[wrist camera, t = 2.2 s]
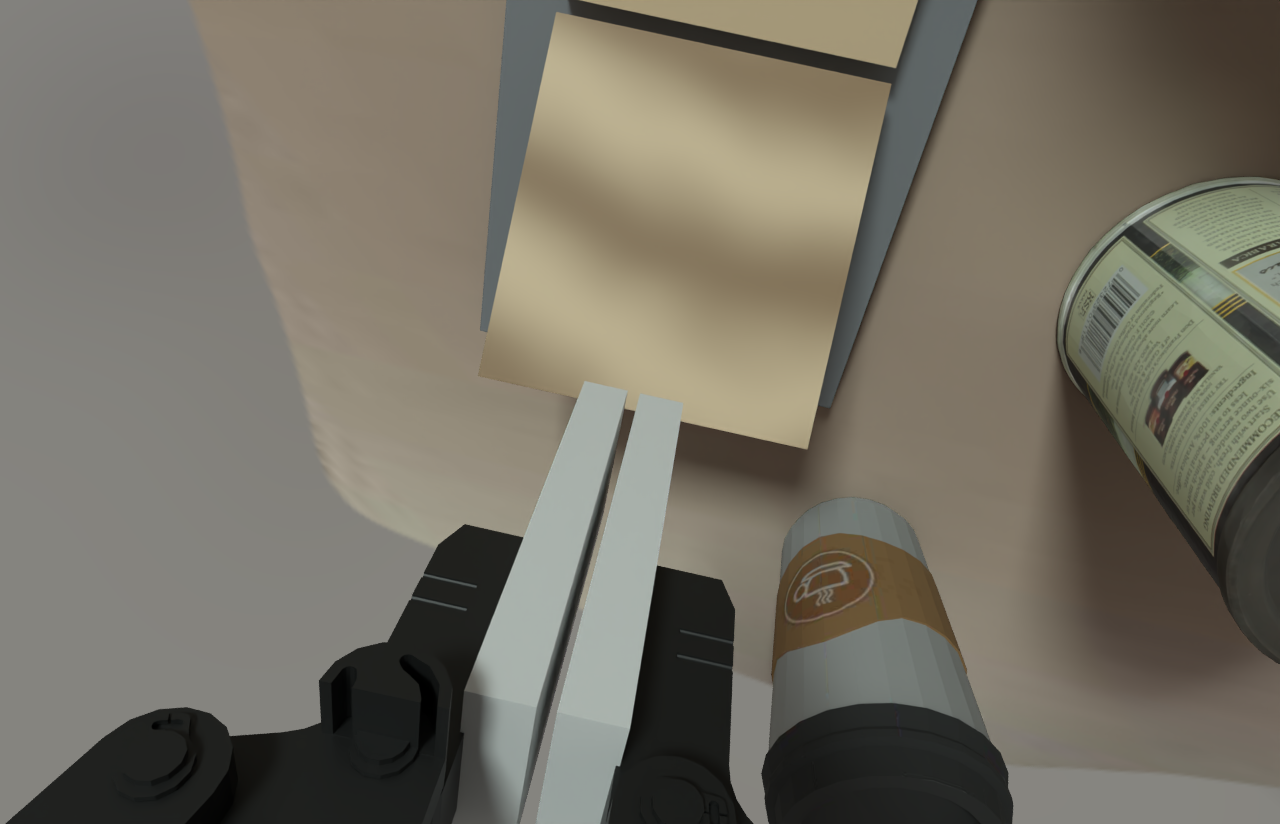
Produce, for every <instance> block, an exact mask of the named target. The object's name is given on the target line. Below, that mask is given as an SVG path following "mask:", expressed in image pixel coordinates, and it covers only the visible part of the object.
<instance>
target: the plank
mask: <svg viewBox="0 0 1280 824" xmlns="http://www.w3.org/2000/svg"><path fill="white" fill-rule="evenodd" d="M890 88H891V84H890V83H885V82H880V81H876V80H871V79H867V78H862V77H857V76H853V75H848V74H843V73H839V72H834V71H829V70H825V69H820V68H815V67H811V66H806V65H801V64H797V63H792V62H787V61H783V60H778V59H773V58H769V57H764V56H760V55H755V54H750V53H746V52H741V51H736V50H732V49H727V48H722V47H718V46H713V45H708V44H704V43H699V42H694V41H690V40H685V39H680V38H676V37H671V36H666V35H662V34H657V33H652V32H648V31H643V30H639V29H634V28H629V27H625V26H620V25H615V24H611V23H606V22H601V21H597V20H592V19H587V18H583V17H578V16H573V15H569V14H564V13H559V12H556V16H555V20H554V25H553V30H552V34H551V39H550V43H549V48H548V53H547V57H546V62H545V67H544V71H543V76H542V81H541V85H540V90H539V95H538V99H537V104H536V109H535V113H534V118H533V122H532V127H531V132H530V136H529V141H528V146H527V150H526V155H525V160H524V164H523V169H522V174H521V178H520V183H519V188H518V192H517V197H516V201H515V206H514V211H513V215H512V220H511V225H510V229H509V234H508V239H507V243H506V248H505V253H504V257H503V262H502V267H501V271H500V276H499V280H498V285H497V290H496V294H495V299H494V304H493V308H492V313H491V318H490V322H489V327H488V332H487V336H486V341H485V346H484V350H483V355H482V359H481V364H480V369H479V373H478V376H480V377H485V378H489V379H494V380H498V381H503V382H507V383H512V384H516V385H521V386H525V387H529V388H534V389H538V390H543V391H547V392H552V393H556V394H561V395H565V396H570V397H574V398H578V397H579V394H580V392H581V389H582V387H583V384H584V381H587V382H592V383H596V384H601V385H605V386H610V387H614V388H618V389H623V390H627V391H628V393H627V398H626V403H625V408H624V409H628V410H633V411H636V407H637V403H638V399H639V396H640V393H641V394H645V395H650V396H654V397H659V398H663V399H668V400H672V401H677V402H681V403H683V409H682V415H681V421H682V422H686V423H691V424H695V425H700V426H704V427H709V428H713V429H718V430H722V431H727V432H731V433H736V434H740V435H745V436H749V437H753V438H758V439H762V440H767V441H771V442H776V443H780V444H785V445H789V446H794V447H798V448H803V449H808V444H809V440H810V436H811V431H812V427H813V423H814V418H815V414H816V410H817V405H818V401H819V397H820V392H821V388H822V384H823V379H824V375H825V371H826V366H827V362H828V358H829V353H830V349H831V345H832V340H833V336H834V332H835V327H836V323H837V318H838V314H839V310H840V305H841V301H842V297H843V292H844V288H845V284H846V279H847V275H848V271H849V266H850V262H851V258H852V253H853V249H854V245H855V240H856V236H857V232H858V227H859V223H860V219H861V214H862V210H863V206H864V201H865V197H866V193H867V188H868V184H869V180H870V175H871V171H872V166H873V162H874V158H875V153H876V149H877V145H878V140H879V136H880V132H881V127H882V123H883V119H884V114H885V110H886V106H887V101H888V97H889V93H890Z"/></svg>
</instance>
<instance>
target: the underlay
mask: <svg viewBox="0 0 1280 824" xmlns="http://www.w3.org/2000/svg"><path fill="white" fill-rule="evenodd" d="M976 3H977V0H507V1H506V14H505V26H504V39H503V51H502V64H501V76H500V89H499V101H498V113H497V126H496V138H495V151H494V163H493V176H492V188H491V201H490V213H489V226H488V238H487V251H486V263H485V276H484V288H483V301H482V313H481V326H480V331H484V332H488V327H489V322H490V318H491V313H492V308H493V304H494V299H495V294H496V290H497V285H498V280H499V276H500V271H501V267H502V262H503V257H504V253H505V248H506V243H507V239H508V234H509V229H510V225H511V220H512V215H513V211H514V206H515V201H516V197H517V192H518V188H519V183H520V178H521V174H522V169H523V164H524V160H525V155H526V150H527V146H528V141H529V136H530V132H531V127H532V122H533V118H534V113H535V109H536V104H537V99H538V95H539V90H540V85H541V81H542V76H543V71H544V67H545V62H546V57H547V53H548V48H549V43H550V39H551V34H552V30H553V25H554V20H555V16H556V12H559V13H564V14H569V15H573V16H578V17H583V18H587V19H592V20H597V21H601V22H606V23H611V24H615V25H620V26H625V27H629V28H634V29H639V30H643V31H648V32H652V33H657V34H662V35H666V36H671V37H676V38H680V39H685V40H690V41H694V42H699V43H704V44H708V45H713V46H718V47H722V48H727V49H732V50H736V51H741V52H746V53H750V54H755V55H760V56H764V57H769V58H773V59H778V60H783V61H787V62H792V63H797V64H801V65H806V66H811V67H815V68H820V69H825V70H829V71H834V72H839V73H843V74H848V75H853V76H857V77H862V78H867V79H871V80H876V81H880V82H885V83H890V84H891V88H890V93H889V97H888V101H887V106H886V110H885V114H884V119H883V123H882V127H881V132H880V136H879V140H878V145H877V149H876V153H875V158H874V162H873V166H872V171H871V175H870V180H869V184H868V188H867V193H866V197H865V201H864V206H863V210H862V214H861V219H860V223H859V227H858V232H857V236H856V240H855V245H854V249H853V253H852V258H851V262H850V266H849V271H848V275H847V279H846V284H845V288H844V292H843V297H842V301H841V305H840V310H839V314H838V318H837V323H836V327H835V332H834V336H833V340H832V345H831V349H830V353H829V358H828V362H827V366H826V371H825V375H824V379H823V384H822V388H821V392H820V397H819V401H818V405H817V406H822V407H826V408H830V407H831V404H832V401H833V398H834V396H835V393H836V390H837V387H838V385H839V382H840V379H841V376H842V373H843V371H844V368H845V365H846V362H847V360H848V357H849V354H850V351H851V349H852V346H853V343H854V340H855V338H856V335H857V332H858V329H859V326H860V324H861V321H862V318H863V315H864V313H865V310H866V307H867V304H868V302H869V299H870V296H871V293H872V291H873V288H874V285H875V282H876V279H877V277H878V274H879V271H880V268H881V266H882V263H883V260H884V257H885V255H886V252H887V249H888V246H889V243H890V241H891V238H892V235H893V232H894V230H895V227H896V224H897V221H898V219H899V216H900V213H901V210H902V208H903V205H904V202H905V199H906V196H907V194H908V191H909V188H910V185H911V183H912V180H913V177H914V174H915V172H916V169H917V166H918V163H919V161H920V158H921V155H922V152H923V149H924V147H925V144H926V141H927V138H928V136H929V133H930V130H931V127H932V125H933V122H934V119H935V116H936V114H937V111H938V108H939V105H940V102H941V100H942V97H943V94H944V91H945V89H946V86H947V83H948V80H949V78H950V75H951V72H952V69H953V67H954V64H955V61H956V58H957V55H958V53H959V50H960V47H961V44H962V42H963V39H964V36H965V33H966V31H967V28H968V25H969V22H970V20H971V17H972V14H973V11H974V8H975V6H976Z"/></svg>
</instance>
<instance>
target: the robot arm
mask: <svg viewBox="0 0 1280 824" xmlns="http://www.w3.org/2000/svg"><path fill="white" fill-rule="evenodd" d="M627 393H628V391H627V390H623V389H618V388H614V387H610V386H605V385H601V384H596V383H592V382H587V381H584V384H583V387H582V389H581V392H580V394H579V397H578V399H577V402H576V405H575V407H574V410H573V412H572V415H571V417H570V420H569V423H568V425H567V428H566V430H565V433H564V435H563V438H562V441H561V443H560V446H559V448H558V451H557V453H556V456H555V458H554V461H553V464H552V466H551V469H550V471H549V474H548V476H547V479H546V482H545V484H544V487H543V489H542V492H541V494H540V497H539V500H538V502H537V505H536V507H535V510H534V512H533V515H532V518H531V520H530V523H529V525H528V528H527V530H526V533H525V536H524V538H523V537H519V536H514V535H510V534H506V533H501V532H497V531H492V530H488V529H484V528H479V527H475V526H470V525H466V524H465V525H463V526H462V527H461V528H459V529H458V530H457V531H456V532H454V533H453V534H452V535H450V536H449V537H448V538H446V539H445V540H444V541H443V542H441V543H440V544H439V545H438V547H437V548H436V550H435V552H434V554H433V556H432V558H431V560H430V562H429V564H428V566H427V568H426V570H425V572H424V576H423V578H421V579H420V581H419V583H418V585H417V587H416V589H415V591H414V593H413V595H412V599H411V600H409V602H408V604H407V606H406V608H405V610H404V612H403V614H402V616H401V617H400V619H399V621H398V623H397V625H396V627H395V629H394V631H393V633H392V635H391V636H390V638H389V640H388V642H387V643H385V642H384V643H378V644H375V645H370V646H366V647H362V648H358V649H356V650H354V651H353V652H351V653H349V654H347V655H346V656H344V657H342V658H341V659H339V660H337V661H335V663H334V664H333V665H332V666H331V667H330V668H329V669H328V671H327V672H326V673H325V674H324V675H323V677H322V678H321V679H320V680H319V687H320V688H319V690H320V707H321V708H320V709H321V723H319V724H316V725H313V726H311V727H308V728H305V729H300V730H294V731H288V732H281V733H269V734H268V733H267V734H254V735H240V736H229V733H228V730H227V727H226V726H225V725H223V724H222V723H221V722H220V721H219V720H218V719H216V718H215V717H214V716H213V715H212V714H210V713H207V712H203V711H199V710H195V709H191V708H187V707H185V708H172V709H159V710H156V711H153V712H151V713H148V714H145V715H142V716H139V717H136V718H133V719H131V720H129V721H127V722H126V723H124V724H123V725H121V726H120V727H118V728H117V729H115V730H114V731H112V732H111V733H110V734H108V735H106V736H105V737H104V738H102V739H101V740H100V741H99V742H98V743H97V744H96V745H94V746H93V747H92V748H91V749H90V750H89V751H88V752H87V753H85V754H84V755H83V756H82V757H81V758H80V759H78V760H77V761H76V762H75V763H74V764H73V765H72V766H71V767H69V768H68V769H67V770H66V771H65V772H64V773H63V774H61V775H60V776H59V777H58V778H57V779H56V780H55V781H53V782H52V783H51V784H50V785H49V786H48V787H47V788H45V789H44V790H43V791H42V792H41V793H40V794H39V795H38V796H36V797H35V798H34V799H33V800H32V801H31V802H30V803H28V805H26V806H25V807H24V808H23V809H22V810H20V811H19V812H18V813H17V814H16V815H15V816H14V817H12V818H11V819H10V820H9V821H8V822H7V823H6V824H520V820H521V817H522V813H523V809H524V806H525V802H526V798H527V795H528V791H529V787H530V783H531V780H532V776H533V772H534V769H535V765H536V761H537V757H538V754H539V750H540V746H541V743H542V739H543V735H544V732H545V728H546V724H547V720H548V717H549V713H550V709H551V706H552V702H553V698H554V694H555V691H556V687H557V683H558V680H559V676H560V672H561V668H562V665H563V661H564V657H565V653H566V650H567V646H568V642H569V639H570V635H571V631H572V627H573V624H574V620H575V617H576V613H577V609H578V605H579V602H580V598H581V594H582V591H583V587H584V583H585V579H586V576H587V572H588V568H589V565H590V561H591V557H592V553H593V550H594V546H595V542H596V539H597V535H598V531H599V527H600V524H601V520H602V516H603V513H604V508H605V503H606V498H607V493H608V488H609V483H610V478H611V473H612V468H613V463H614V458H615V453H616V448H617V443H618V438H619V433H620V428H621V423H622V418H623V413H624V408H625V403H626V398H627ZM682 409H683V403H681V402H677V401H672V400H668V399H663V398H659V397H654V396H650V395H645V394H641V393H640V396H639V399H638V403H637V407H636V411H635V415H634V419H633V423H632V426H631V430H630V434H629V438H628V442H627V446H626V449H625V453H624V457H623V461H622V465H621V469H620V473H619V476H618V480H617V484H616V488H615V492H614V496H613V499H612V503H611V507H610V511H609V515H608V519H607V523H606V526H605V530H604V534H603V538H602V542H601V546H600V549H599V553H598V557H597V561H596V565H595V569H594V573H593V576H592V580H591V584H590V588H589V592H588V596H587V599H586V603H585V607H584V611H583V615H582V619H581V623H580V627H579V631H578V634H577V638H576V642H575V646H574V649H573V653H572V657H571V661H570V665H569V669H568V673H567V676H566V680H565V684H564V688H563V692H562V696H561V699H560V703H559V707H558V711H557V716H556V721H555V726H554V731H553V736H552V742H551V747H550V753H549V758H548V762H547V768H546V773H545V778H544V783H543V788H542V793H541V799H540V804H539V809H538V814H537V819H536V824H753V823H752V821H751V820H750V819H749V818H748V817H747V816H746V814H745V813H744V811H743V809H742V808H741V806H740V804H739V803H738V801H737V799H736V796H735V793H734V791H733V788H732V785H731V781H730V771H729V752H730V726H731V700H732V675H733V672H732V667H733V650H734V646H733V641H734V624H735V608H734V606H733V604H732V602H731V600H730V597H729V595H728V593H727V591H726V588H725V586H724V584H723V582H722V580H719V579H714V578H710V577H706V576H701V575H697V574H692V573H688V572H683V571H679V570H675V569H670V568H666V567H661V566H657V561H658V555H659V549H660V543H661V537H662V531H663V525H664V518H665V512H666V506H667V500H668V494H669V488H670V482H671V476H672V470H673V463H674V457H675V451H676V445H677V439H678V433H679V427H680V421H681V415H682Z"/></svg>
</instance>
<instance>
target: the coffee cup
mask: <svg viewBox="0 0 1280 824" xmlns="http://www.w3.org/2000/svg"><path fill="white" fill-rule="evenodd" d="M771 675H772V682H773V694H772V708H771V723H770V738H769V751H768V753H767V754H766V757H765V761H764V765H763V769H762V773H761V774H762V779H763V785H764V790H765V805H766V811H767V816H768V822H769V824H1012V816H1013V801H1012V797H1011V794H1010V792H1009V790H1008V771H1007V768H1006V766H1005V763H1004V761H1003V758H1002V756H1001V753H1000V752H999V751H998V750H997V749H996V747H995V746H994V745H993V744H992V743H991V741H990V739H989V736H988V733H987V730H986V727H985V725H984V722H983V719H982V716H981V714H980V711H979V708H978V705H977V702H976V700H975V697H974V694H973V691H972V689H971V686H970V683H969V680H968V677H967V668H966V666H965V663H964V660H963V658H962V655H961V652H960V649H959V647H958V644H957V641H956V638H955V636H954V633H953V630H952V627H951V625H950V622H949V619H948V617H947V614H946V611H945V608H944V606H943V603H942V600H941V597H940V595H939V592H938V589H937V587H936V584H935V582H934V579H933V577H932V574H931V573H930V572H929V569H928V566H927V564H926V561H925V558H924V555H923V553H922V550H921V547H920V544H919V542H918V539H917V537H916V534H915V532H914V530H913V528H912V527H911V526H910V525H909V524H908V522H907V521H906V520H905V519H904V518H903V517H901V516H900V515H898V514H897V513H896V512H894V511H893V510H891V509H890V508H888V507H887V506H885V505H883V504H880V503H878V502H875V501H872V500H869V499H862V498H854V497H852V498H838V499H833V500H830V501H827V502H823V503H820V504H818V505H817V506H815V507H813V508H811V509H809V510H808V511H807V512H805V513H804V514H803V515H802V516H801V517H800V518H799V519H798V520H797V521H796V523H795V524H794V525H793V526H792V527H791V529H790V531H789V532H788V534H787V536H786V537H785V540H784V545H783V550H782V560H781V575H780V585H779V590H778V595H777V605H776V619H775V633H774V646H773V660H772V674H771Z"/></svg>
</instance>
